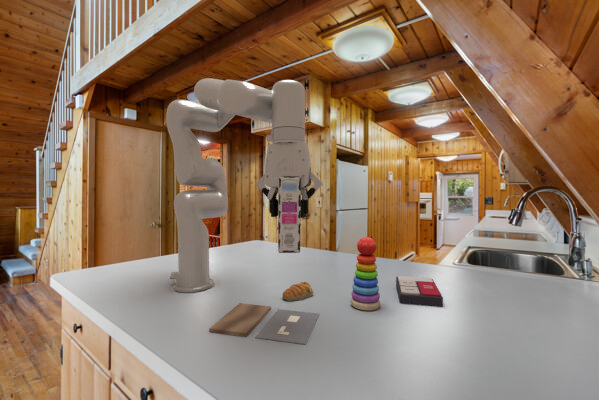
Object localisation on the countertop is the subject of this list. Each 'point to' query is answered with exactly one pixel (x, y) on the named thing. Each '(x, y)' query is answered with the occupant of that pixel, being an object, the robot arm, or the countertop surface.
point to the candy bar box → (289, 214)
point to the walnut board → (240, 320)
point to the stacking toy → (366, 277)
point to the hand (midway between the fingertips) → (288, 216)
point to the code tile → (289, 326)
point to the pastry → (298, 291)
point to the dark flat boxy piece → (418, 291)
